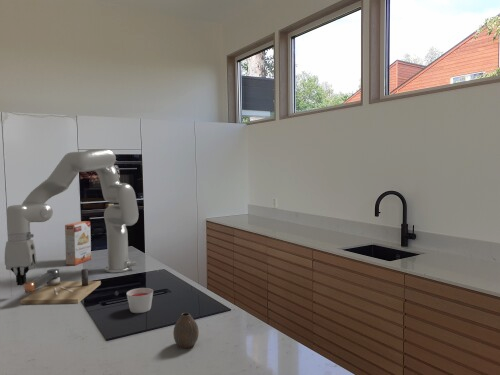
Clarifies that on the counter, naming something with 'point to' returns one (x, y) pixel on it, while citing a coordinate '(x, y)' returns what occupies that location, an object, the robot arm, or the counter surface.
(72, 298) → the base
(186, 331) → the vase
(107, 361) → the counter surface
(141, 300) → the candle
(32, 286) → the lever
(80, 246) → the cracker box
